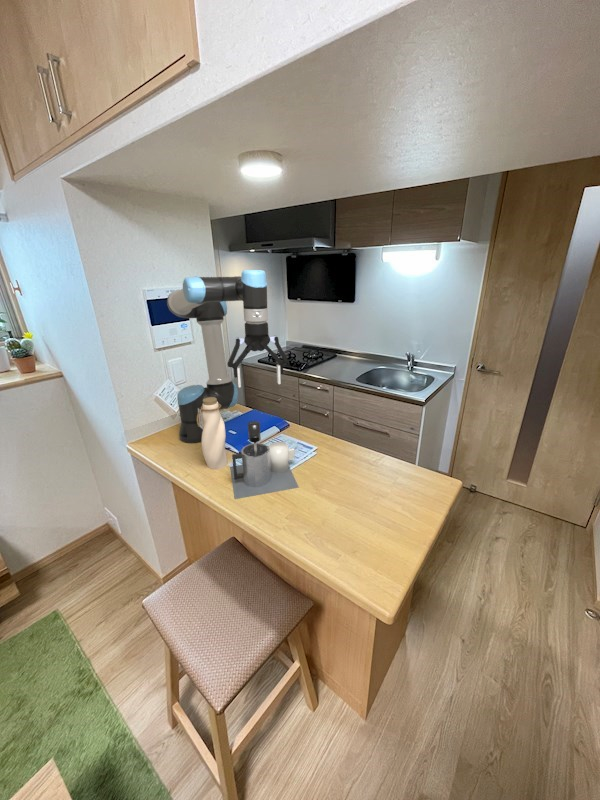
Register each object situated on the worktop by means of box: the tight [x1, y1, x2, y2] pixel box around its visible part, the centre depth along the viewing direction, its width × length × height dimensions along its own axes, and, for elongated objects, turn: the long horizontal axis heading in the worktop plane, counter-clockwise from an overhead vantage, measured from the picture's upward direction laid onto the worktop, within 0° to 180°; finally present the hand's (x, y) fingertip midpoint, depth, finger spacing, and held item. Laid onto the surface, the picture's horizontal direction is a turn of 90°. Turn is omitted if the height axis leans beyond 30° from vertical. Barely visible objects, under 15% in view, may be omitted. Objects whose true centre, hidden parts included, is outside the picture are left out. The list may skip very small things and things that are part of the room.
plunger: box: [247, 420, 261, 456], centre depth 110 cm, size 7×7×19 cm
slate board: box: [229, 464, 300, 500], centre depth 116 cm, size 20×22×1 cm
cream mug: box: [268, 441, 296, 473], centre depth 119 cm, size 8×10×9 cm
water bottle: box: [197, 397, 228, 471], centre depth 118 cm, size 10×9×28 cm
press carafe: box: [231, 442, 271, 487], centre depth 111 cm, size 10×13×12 cm
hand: (259, 384), depth 109 cm, fingers open, 13 cm apart
